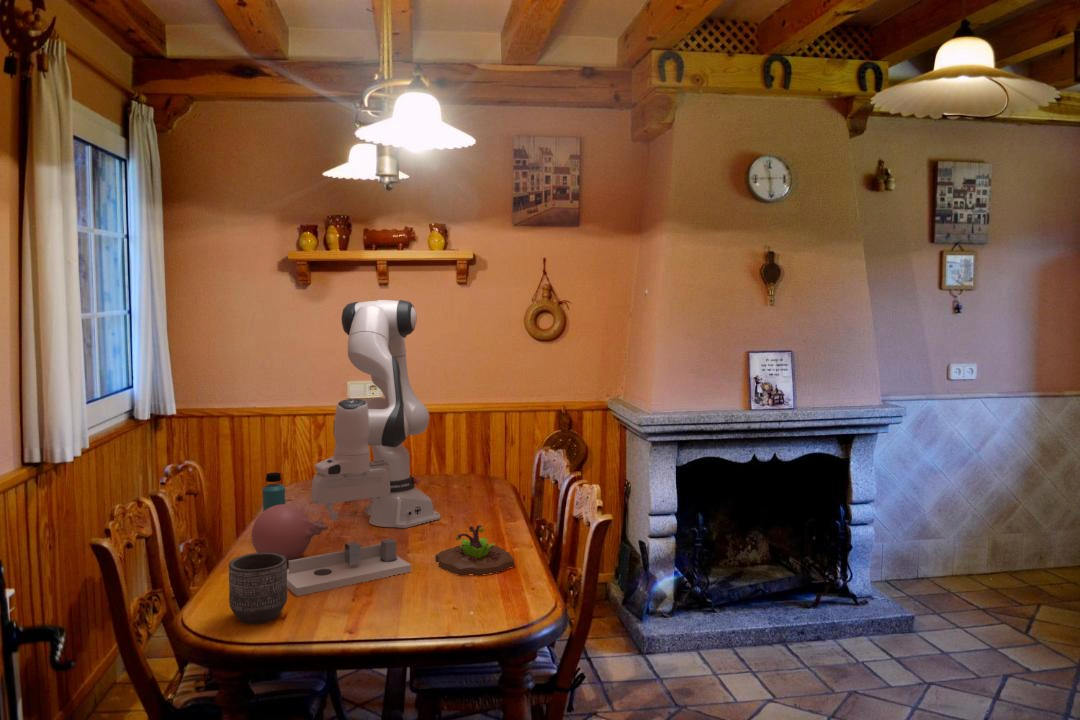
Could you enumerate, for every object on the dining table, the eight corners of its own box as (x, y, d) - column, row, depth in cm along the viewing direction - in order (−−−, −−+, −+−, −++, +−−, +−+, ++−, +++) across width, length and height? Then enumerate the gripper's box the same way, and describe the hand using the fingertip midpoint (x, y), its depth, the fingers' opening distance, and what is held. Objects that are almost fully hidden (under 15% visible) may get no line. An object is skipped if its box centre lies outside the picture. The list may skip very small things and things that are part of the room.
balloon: (318, 572, 207) (317, 514, 206) (242, 570, 208) (241, 512, 207) (336, 553, 222) (336, 499, 221) (265, 551, 223) (264, 497, 222)
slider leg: (353, 559, 210) (353, 539, 209) (360, 564, 206) (360, 544, 206) (342, 561, 208) (342, 541, 207) (349, 566, 204) (349, 546, 204)
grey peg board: (387, 557, 220) (387, 532, 219) (411, 572, 208) (411, 545, 208) (278, 579, 202) (277, 551, 202) (297, 596, 191) (296, 567, 190)
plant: (458, 582, 203) (458, 539, 202) (426, 560, 219) (426, 520, 218) (526, 569, 213) (526, 527, 212) (491, 548, 230) (491, 510, 229)
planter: (252, 603, 186) (251, 549, 185) (298, 610, 183) (297, 555, 182) (217, 624, 175) (216, 566, 174) (265, 631, 171) (264, 573, 170)
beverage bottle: (279, 545, 229) (278, 476, 227) (258, 543, 230) (257, 475, 228) (290, 538, 235) (290, 471, 233) (270, 537, 236) (269, 470, 235)
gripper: (384, 457, 213) (384, 509, 214) (308, 465, 201) (308, 519, 202) (394, 461, 208) (394, 514, 208) (317, 469, 196) (317, 525, 197)
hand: (351, 517), depth 205 cm, fingers open, 8 cm apart
